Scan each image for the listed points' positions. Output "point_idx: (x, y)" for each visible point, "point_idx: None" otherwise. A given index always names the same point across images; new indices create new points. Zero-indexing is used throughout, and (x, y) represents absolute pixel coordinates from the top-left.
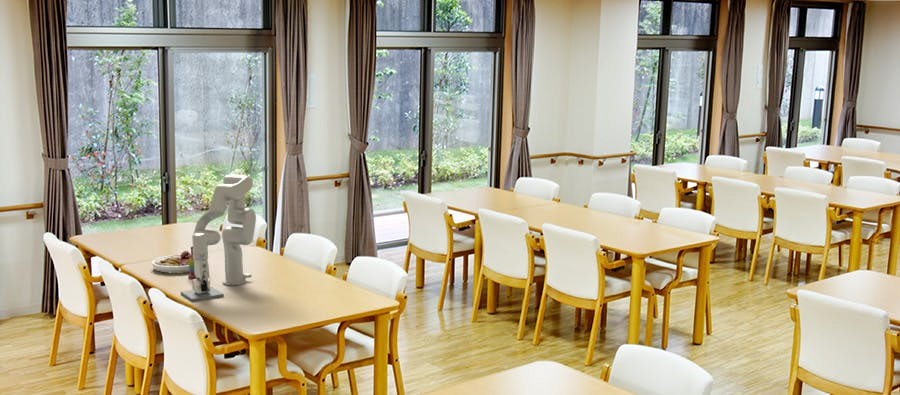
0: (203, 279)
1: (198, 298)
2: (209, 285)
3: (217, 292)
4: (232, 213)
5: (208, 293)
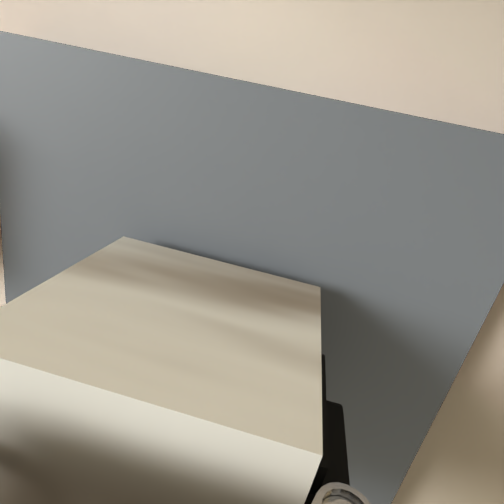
0: (68, 458)
1: (394, 488)
2: (317, 361)
3: (382, 172)
4: None
5: None
